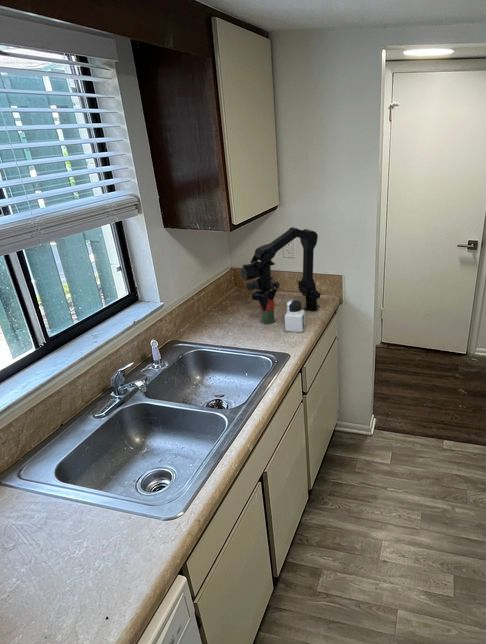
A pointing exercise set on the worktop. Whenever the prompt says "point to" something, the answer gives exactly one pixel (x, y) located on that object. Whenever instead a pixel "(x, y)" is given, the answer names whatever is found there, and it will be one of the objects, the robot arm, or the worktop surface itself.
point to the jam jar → (267, 316)
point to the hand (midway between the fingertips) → (267, 307)
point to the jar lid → (269, 305)
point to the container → (294, 317)
